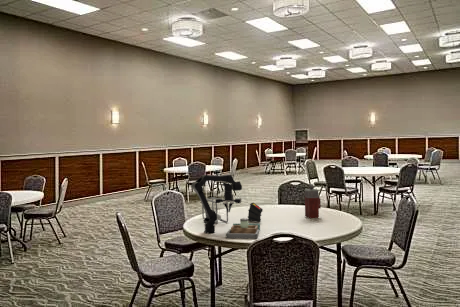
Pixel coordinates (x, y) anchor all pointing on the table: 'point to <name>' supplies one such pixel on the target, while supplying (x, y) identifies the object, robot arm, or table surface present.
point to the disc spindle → (244, 223)
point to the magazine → (254, 213)
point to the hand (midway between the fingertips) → (228, 212)
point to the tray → (245, 229)
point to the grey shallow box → (242, 235)
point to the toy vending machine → (312, 202)
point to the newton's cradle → (215, 210)
